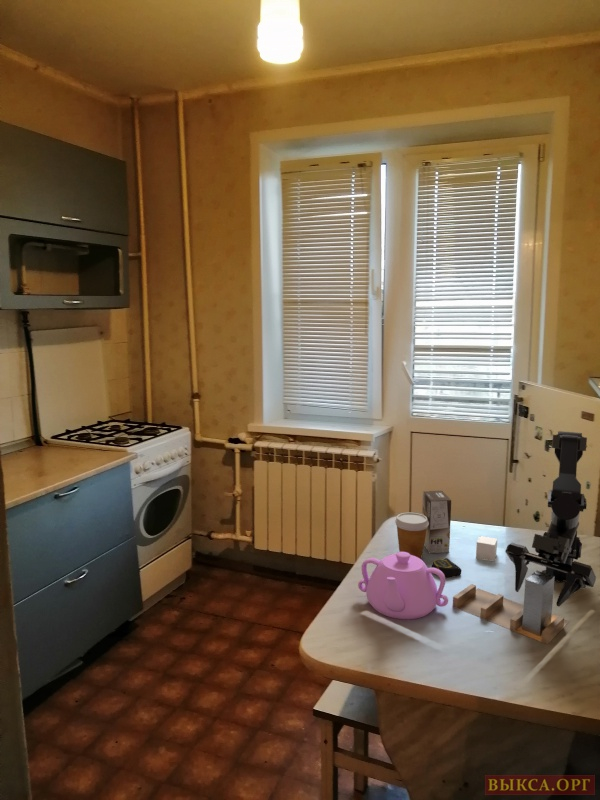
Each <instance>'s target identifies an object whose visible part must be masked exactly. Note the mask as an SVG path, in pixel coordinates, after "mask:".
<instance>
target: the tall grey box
mask: <svg viewBox="0 0 600 800" xmlns="http://www.w3.org/2000/svg"><path fill="white" fill-rule="evenodd" d="M554 578H555V576H553V575H550V574H546V573H543V572H542V571H540V570H536V571H535V572H533V573H531V575H529V576H528V577H527V578H526V579H525V578H524V582H525V583H524V595H523V605H524V608H523V623H522V630H525V631H527V632H530V633H532V634H535V635H537V636H541V635H542V631H543V630H544V629H545V628H546V627H547V626H548V625H550V624H551V616H552V615H553V603H554V602H553V601H554V588H555V580H554Z"/></svg>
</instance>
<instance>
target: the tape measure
mask: <svg viewBox="0 0 600 800" xmlns="http://www.w3.org/2000/svg"><path fill="white" fill-rule="evenodd" d="M430 568H437V569H439V570H440V571H442V572H443V574H444V575H445V579H450V578H454V577H460V576H461V575H462V568H461V567H460V566H459V565H457V564H456V563H454V562H453V561H452V560H450V559H449V558H447V557H446V558H437V559H434V561H432V563H431V567H430ZM432 574H433V575H435V576H436V577H439V576H438V575H436V574H434V573H432Z"/></svg>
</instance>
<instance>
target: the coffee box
mask: <svg viewBox="0 0 600 800" xmlns="http://www.w3.org/2000/svg"><path fill="white" fill-rule="evenodd" d="M421 510H422V511H421V512H422V513H421V514H422V515H424V516H426V517H427V520H428V522H429V525H428V527H427V531H426V537H425V543H424V547H425V548H426V550H427V552H428V553H429V554H434V553H435V554H437V553H439V554H440V553H450V545H451V544H450V542H451V541H450V540H451V519H452V500H451V498H450V497H449V496H448V495H447V494H446V493H445V492H444V491H443V490H428V491H426V490H425V491H422V509H421Z"/></svg>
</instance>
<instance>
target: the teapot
mask: <svg viewBox="0 0 600 800" xmlns="http://www.w3.org/2000/svg"><path fill="white" fill-rule="evenodd" d="M368 564H373V565H376V567H375V568H374V569H373V571H372V572H371V575H370V577H369V574H368V569H367V565H368ZM433 573H434V574H436V575H438V576H437V577H439V580H440V581H439V582H440V583H439V587H437V584H436V580H435V578H434V576H433V575H434V574H433ZM361 574H362V579H361V580H359V582H358V584H357V587H358V589H359V591H361V592H363V593H365V594H366V595H365V596H366V599H367V600H368V601H367V602H369V604H370V605H371V606H372V608H373V609H374V610H375V611H376V612H378V613H379V614H380V615H381V614H382V615H384V616H385V617H386V616H387V617H389V618H393V619H398V620H415V619H420V618H424V617H426V616H427V615H428V614H430V613H431V612H432V611H433V610H434V609H435V608H436V606H438V607H446V606H447V605H448V604H449V598H448V597H447V595H445V594H443V591H444V588H445V585H446V578H445V575H444V574H443V572H442V571H440V570H439V569H437V568H431V567H428V565H426V563H425V562H424V561H423V560H422V559H420V558H418V557H416V556H413V555H410V554H409V553H407V552H399V551H398V552H396V553H393V554H388V555H386V556H384V557H383V558H382V559H381V560H380V559H378V558H375V557H369V558H366V559H365V560H364V561H363V562H362V563H361ZM432 574H433V575H432ZM436 575H435V576H436ZM441 599H443V600H441Z"/></svg>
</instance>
